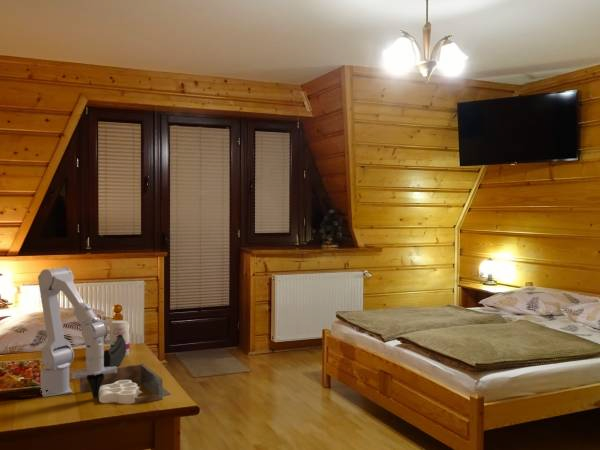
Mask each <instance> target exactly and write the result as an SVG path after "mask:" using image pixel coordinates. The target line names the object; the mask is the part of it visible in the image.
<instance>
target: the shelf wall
mask: <svg viewBox="0 0 600 450" xmlns="http://www.w3.org/2000/svg"><path fill="white" fill-rule="evenodd" d="M142 364H143V363H139V364H130V365H124V366H123V365H122V366H119V367H117V373H109V374H103V376H104V380H103V382H102V384H101V386H102V385H106V384H113V383H115V382H116V381H119V380H131V381H132V382H133V383H136V384H138V385H139V384H140V385H141V365H142ZM88 392H89V393H90V392H92V390H91V387H90V384H89V382H88V380H87V378H86V377H81V378H79V393H80V394H81V393H88ZM154 401H159V394H147V395H142V396H138V397H135V402H134V404H136V405H138V404H143V403H149V402H154Z"/></svg>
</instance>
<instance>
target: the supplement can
mask: <svg viewBox="0 0 600 450" xmlns="http://www.w3.org/2000/svg"><path fill="white" fill-rule="evenodd" d="M130 328H131V327H130V323H129V320H127V319H125V320H124V319H118V320H113V321H111V323H110V325H109V347H110V348H111V347H112V346H113V345H114V344H115V342H116V340H117V338H118V335H123V339H124V340H125V344H126V354H125V356H124V358H125V357H127V356H129V355H130V353H131V351H130V349H131V347H130V345H131V344H130V343H131V342H130V341H131V340H130V339H131V338H130V335H131V334H130V330H131V329H130ZM110 348H109V349H110Z"/></svg>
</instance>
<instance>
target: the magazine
mask: <svg viewBox="0 0 600 450" xmlns="http://www.w3.org/2000/svg"><path fill="white" fill-rule="evenodd" d="M125 354H126V344H125V340H124V339H123V335H118V338H117V340H116V342H115V344H114V345H113V346H112V347H111V348H109V349H105V350H104V367H114V366H116V367H121V364H122V363H123V360H124V358H125V357H126V356H125ZM124 356H125V357H124Z"/></svg>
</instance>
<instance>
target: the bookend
mask: <svg viewBox="0 0 600 450" xmlns="http://www.w3.org/2000/svg"><path fill="white" fill-rule="evenodd" d="M141 364H142V365H141V383H140V385H142V386H143V387H144V388H146V390H148V391H149V393H151V395H153V394H159V400H163V397H165V396H169V395H170V396H171V394H172V393H171V392H169V391H168V390H167V389H166V388H164V387H163V378H162V377H160V375H158V374H157V373H156V372H154V371H153V370H152V369H150V368H149V367H148V366H147V365H146V364H145V363H141ZM159 400H158V401H159Z"/></svg>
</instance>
